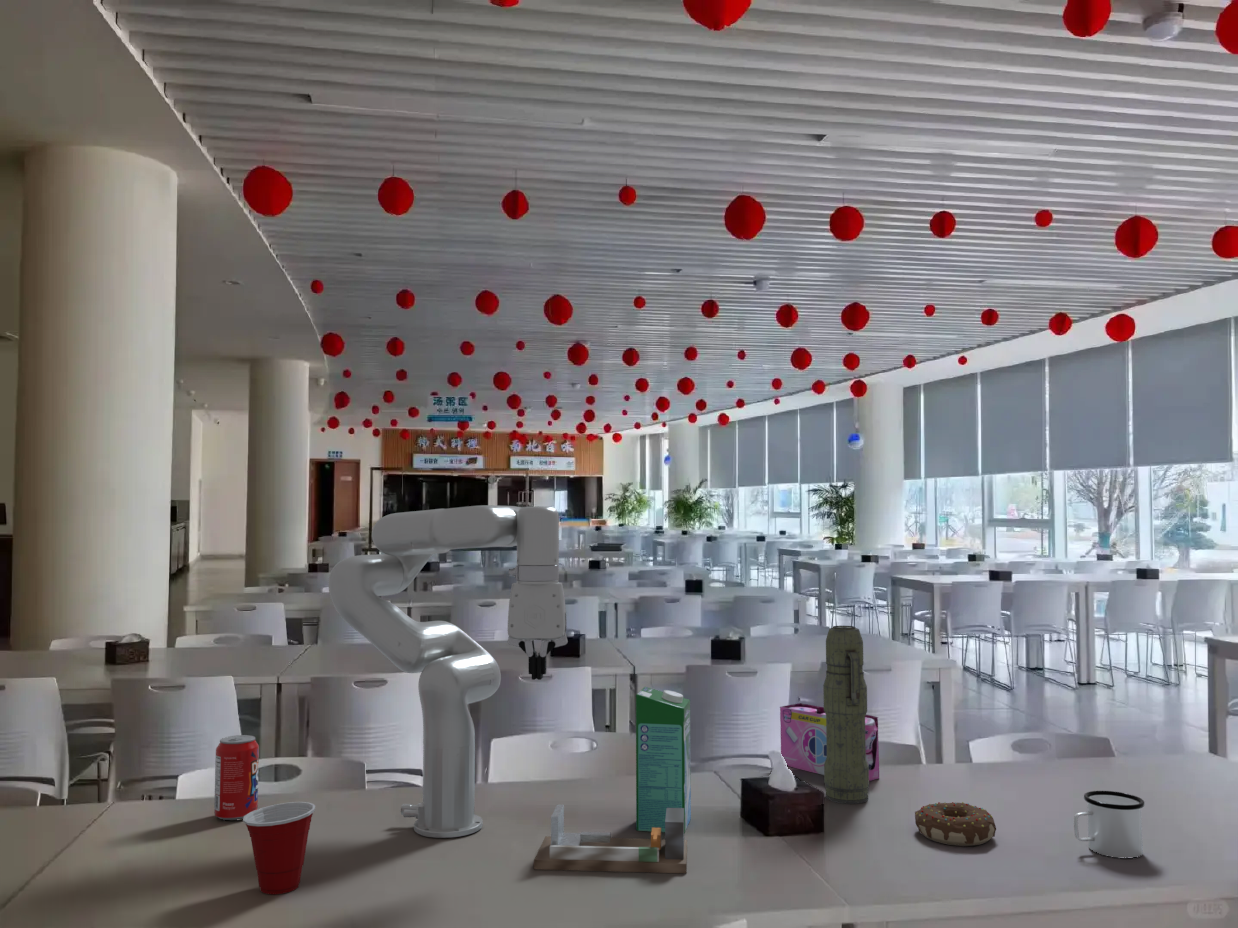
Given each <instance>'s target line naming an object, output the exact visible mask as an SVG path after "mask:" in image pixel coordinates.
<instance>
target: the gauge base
mask: <svg viewBox="0 0 1238 928" xmlns="http://www.w3.org/2000/svg"><path fill="white" fill-rule="evenodd" d="M687 867H688V839H685V833H684V808H667V809H666V818H665V832H664V838H661V850H659V848H657V847H651V838H626V837H622V838H621V837H611V840H610V843H605V842H582V845H581V846H568V845H551V835H550V836H548V835H547V836H545V837H544V839H543V840H542V843H541V845H540V847H539V849H538V850H537V853H536V855H535V857H534V860H533V869H534V870H542V871H543V870H545V871H546V870H547V871H548V870H549V871H550V870H551V871H580V872H581V871H584V872H585V871H586V872H593V871H594V872H616V873H617V872H622V873H623V872H627V873H628V872H629V873H656V874H657V873H662V874H687V872H688V871H687V870H688V868H687Z"/></svg>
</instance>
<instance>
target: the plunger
mask: <svg viewBox="0 0 1238 928" xmlns="http://www.w3.org/2000/svg"><path fill="white" fill-rule="evenodd" d="M550 837H551V845H568V846H581V845H582V842H605V843H610V840H611V838H612V837H611V832H609V831H606V832H605V831H603V832H602V831H581V832H565V805H564V804H561V803H560V804H556V806H555V807H554V810H553V812H552V814H551V816H550Z"/></svg>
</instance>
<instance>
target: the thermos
mask: <svg viewBox="0 0 1238 928" xmlns="http://www.w3.org/2000/svg"><path fill="white" fill-rule="evenodd" d="M825 665H826V670H825V676H826V677H825V680H824V682H823V685H822V687H823V689H822V690H823V707H824V711H825V714H826V739H827V758H826V761H825V763H824V775H823V776H824V779H823V780H824V783H823V784H824V786H825V796H826V797H825V798H826V799H827V800H828V801H831V802H834V803H835V802H836V803H840V804H855V805H856V804H863V803H866V802H867V801H868V800H869V787H870V781H869V766H868V763H867V761H866V742H865V716H866V715H867V713H868V685H867V684H866V680H865V674H864V671H863V666H864V640H863V637H862V633H861V631H860V629H859V628H858V627H857V628H856V626H853V625H833V626H832V627H829V629H828V632H827V635H826V639H825Z"/></svg>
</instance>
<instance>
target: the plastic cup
mask: <svg viewBox="0 0 1238 928" xmlns="http://www.w3.org/2000/svg"><path fill="white" fill-rule="evenodd" d="M315 810H316V804H314V803H313V802H308V801H306V802H305V801H291V802H290V801H289V802H282V803H277V804H276V803H275V804H272V805H267V806H263V807H260V808H258V809H257V810H254V811H252V812H250V813H248V814H247V815H245V816H244V818H243V820H242V822H243V824H245V825H246V828H247V831H248V832H249V837H250V840H251V847H252V854H253V860H254V864H255V869H256V870H255V871H257V872H256V873H257V880H258V887H259V889H260V892H262V893H263V894H265V895H281V894H282V895H283V894H287V893H290V892H294V891H295V890H297V888H299V886H300V885H299V884H300V882H301V876H302V871H303V866H304V862H305V856H306V849H307V846H308V845H307V844H308V837H309V831H310V829H311V822H312V817H313V815H314V813H315Z"/></svg>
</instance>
